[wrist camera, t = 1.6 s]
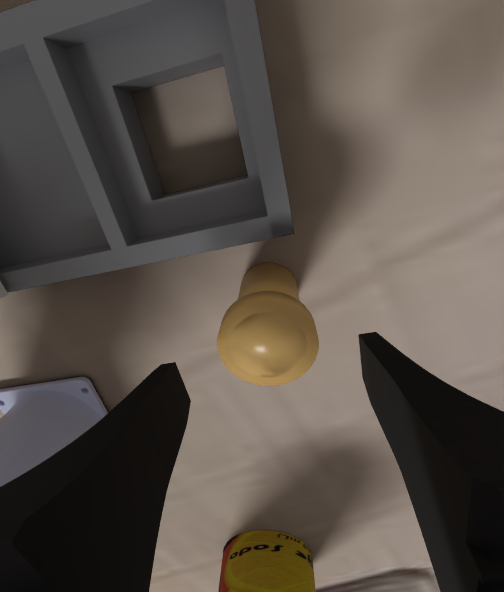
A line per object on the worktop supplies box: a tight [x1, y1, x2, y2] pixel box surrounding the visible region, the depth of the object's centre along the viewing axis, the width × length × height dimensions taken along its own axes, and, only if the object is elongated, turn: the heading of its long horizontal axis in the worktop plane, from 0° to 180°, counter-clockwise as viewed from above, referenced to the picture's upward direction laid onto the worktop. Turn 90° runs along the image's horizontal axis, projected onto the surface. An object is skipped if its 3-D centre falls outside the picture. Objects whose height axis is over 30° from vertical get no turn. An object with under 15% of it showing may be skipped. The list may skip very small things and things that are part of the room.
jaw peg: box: [217, 263, 319, 386], centre depth 16 cm, size 4×4×6 cm
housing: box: [0, 0, 294, 292], centre depth 15 cm, size 10×18×4 cm, turn 103°
